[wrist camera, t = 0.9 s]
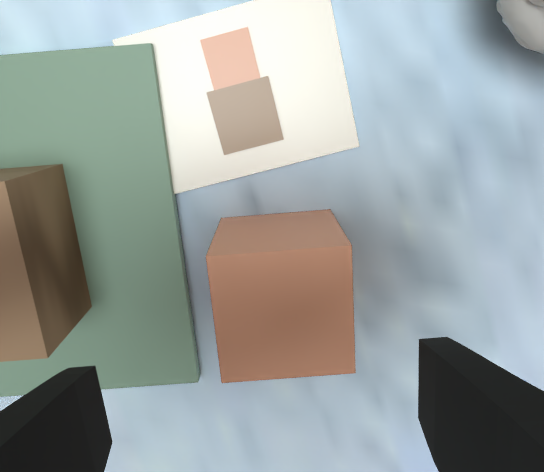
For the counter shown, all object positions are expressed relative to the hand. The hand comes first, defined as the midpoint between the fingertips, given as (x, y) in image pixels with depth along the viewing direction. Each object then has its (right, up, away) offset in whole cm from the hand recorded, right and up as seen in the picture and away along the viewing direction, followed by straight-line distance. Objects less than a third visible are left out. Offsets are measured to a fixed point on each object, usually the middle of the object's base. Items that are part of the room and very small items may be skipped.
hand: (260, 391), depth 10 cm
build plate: (-11, +3, +9) cm, 14 cm away
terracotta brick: (+1, +2, +9) cm, 10 cm away
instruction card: (-1, +9, +7) cm, 11 cm away
